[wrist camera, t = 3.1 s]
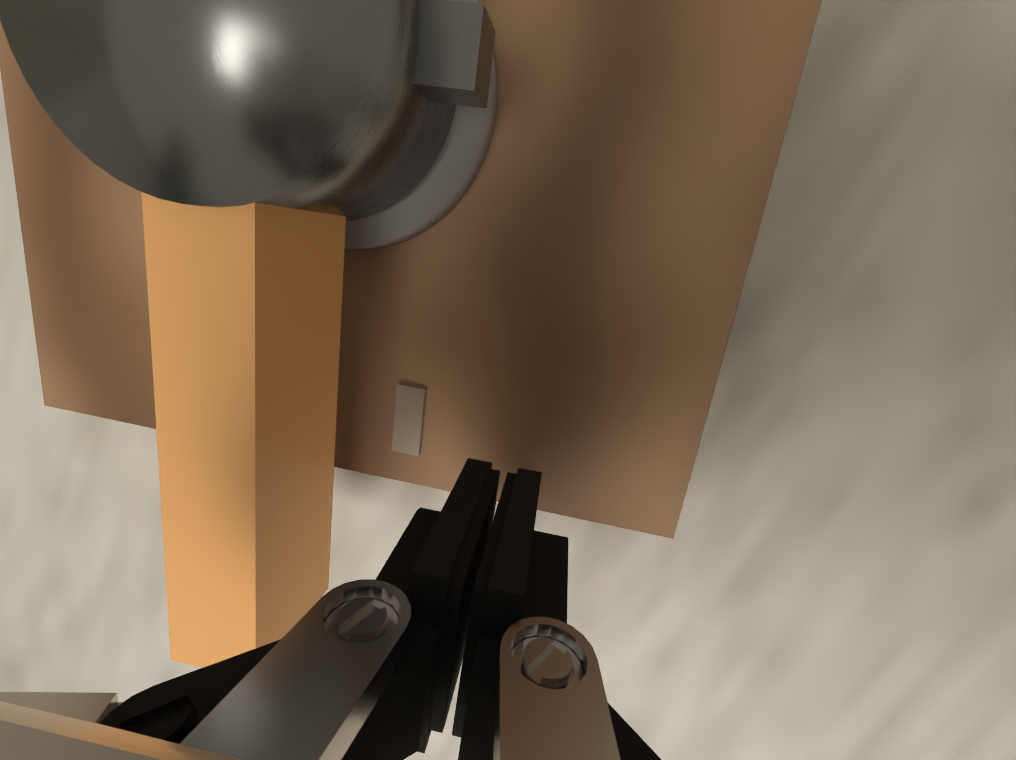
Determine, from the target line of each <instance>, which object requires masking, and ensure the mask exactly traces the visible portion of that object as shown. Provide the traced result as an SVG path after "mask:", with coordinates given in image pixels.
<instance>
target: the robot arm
mask: <svg viewBox="0 0 1016 760" xmlns="http://www.w3.org/2000/svg"><path fill="white" fill-rule="evenodd" d="M541 476H542V472H539V471H534V470H529V469H523V468H518V470H517V474H515V473H510V472H507V475H506V479H505V482H504V486H503V489H502V492H501V496H500V499H499V503H498V506H497V509H496V513H495V516H494V511H495V504H496V498H497V491H498V485H499V478H500V471H499V470H494V469H492V462H487V461H482V460H476V459H471V458H468V459H467V461H466V463H465V465H464V467H463V469H462V471H461V473H460V475H459V477H458V479H457V481H456V483H455V485H454V487H453V489H452V491H451V493H450V495H449V497H448V499H447V501H446V503H445V505H444V507H443V509H442V511H441V512H439V511H434V510H430V509H425V508H419V509H418V510H417V511H416V513H415V515H414V516H413V518H412V520H411V521H410V523H409V525H408V526H407V528H406V530H405V531H404V533H403V535H402V536H401V538H400V540H399V541H398V543H397V545H396V546H395V548H394V550H393V551H392V553H391V555H390V556H389V558H388V560H387V561H386V563H385V565H384V566H383V568H382V570H381V572H380V573H379V575H378V577H377V578H376V580H357V581H352V582H348V583H344V584H342V585H340V586H338V587H336V588H334V589H332V590H331V591H329V592H328V593H327V594H325V595H324V596H323V597H322V598H321V599H320V600H319V601H318V602H317V603H316V604H315V605H314V606H313V607H312V608H311V609H310V610H309V611H308V612H307V613H306V614H305V615H304V616H303V617H302V618H301V619H300V620H299V621H298V622H297V623H296V624H295V625H294V627H293V628H292V629H291V630H290V631H289V632H288V633H287V634H286V635H285V636H284V637H283V638H282V639H280V640H277V641H275V642H272V643H269V644H266V645H264V646H261V647H258V648H255V649H253V650H250V651H247V652H245V653H242V654H239V655H236V656H234V657H231V658H228V659H226V660H223V661H220V662H217V663H215V664H212V665H209V666H206V667H204V668H201V669H198V670H196V671H193V672H190V673H187V674H185V675H182V676H179V677H176V678H174V679H171V680H168V681H166V682H163V683H160V684H157V685H155V686H152V687H150V688H148V689H146V690H144V691H142V692H140V693H137V694H135V695H133V696H132V697H130V698H129V699H127V700H126V701H124V702H118V700H117V693H61V692H0V760H403V759H405V758H407V757H408V756H410V755H412V754H413V753H415V752H417V751H418V752H422V753H425V750H426V746H427V743H428V740H429V736H430V733H431V730H433V731H437V732H441V733H442V732H443V729H444V726H445V722H446V719H447V715H448V711H449V708H450V704H451V700H452V697H453V693H454V689H455V685H456V682H457V678H458V674H459V671H460V667H461V663H462V660H463V663H462V669H461V676H460V683H459V690H458V697H457V703H456V710H455V717H454V724H453V731H452V735H453V736H457V737H461V744H460V750H459V757H458V760H661V759H660V758H659V757H658V756H657V755H656V754H655V752H654V751H653V750H652V749H651V748H650V747H649V746H648V745H647V744H646V743H645V742H644V741H643V740H642V739H641V738H640V736H639V735H638V734H637V733H636V732H635V731H634V730H633V729H632V728H631V727H630V726H629V725H628V724H627V723H626V722H625V721H624V719H623V718H622V717H621V716H620V715H619V714H618V713H617V712H616V711H615V710H614V709H613V708H612V707H611V706H610V705H609V703H608V702H607V699H606V694H605V690H604V686H603V681H602V677H601V673H600V668H599V664H598V660H597V657H596V655H595V652H594V650H593V647H592V646H591V644H590V643H589V642H588V640H587V639H586V638H585V637H584V635H583V634H581V633H580V632H579V631H577V630H576V629H575V628H574V627H572V626H571V625H568V624H567V584H568V538H567V537H563V536H558V535H553V534H548V533H543V532H538V531H534V525H535V518H536V511H537V504H538V497H539V490H540V483H541ZM493 517H494V519H493Z"/></svg>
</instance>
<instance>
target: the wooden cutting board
mask: <svg viewBox="0 0 1016 760" xmlns="http://www.w3.org/2000/svg"><path fill="white" fill-rule="evenodd" d="M448 1H459V2H470V3H480V4H484V5H485V8H486V10H487V12H488V15H489V17H490V20H491V22H492V25H493V27H494V30H495V32H496V33H495V42H494V50H493V59H492V67H491V76H490V84H489V93H488V101H487V109H486V108H478V107H470V106H461V105H456V108H455V114H454V117H453V121H452V124H451V128H450V132H449V134H448V136H447V139H446V141H445V144H444V146H443V148H442V151H441V152H440V154H439V156H438V158H437V159H436V161H435V163H434V165H433V166H432V168H431V169H430V170H429V172H428V173H427V174H426V176H425V177H424V178H423V180H422V181H421V182H420V183H419V184H418V185H417V186H416V187H415V188H414V189H413V190H412V191H411V192H410V193H409V194H408V195H407V196H405V197H404V198H403V199H401V200H400V201H399V202H397V203H396V204H394V205H393V206H391V207H389V208H387V209H385V210H384V211H382V212H379V213H377V214H374V215H372V216H369V217H366V218H362V219H357V220H353V221H346V226H345V247H344V268H343V289H342V310H341V331H340V352H339V373H338V394H337V414H336V435H335V456H334V467H338V468H343V469H348V470H352V471H357V472H362V473H367V474H371V475H376V476H381V477H385V478H390V479H395V480H400V481H404V482H409V483H414V484H418V485H423V486H428V487H433V488H437V489H442V490H447V491H452V489H453V487H454V485H455V483H456V481H457V479H458V477H459V475H460V473H461V471H462V469H463V467H464V465H465V463H466V461H467V459H468V458H471V459H476V460H482V461H487V462H492V469H494V470H499V471H500V478H499V485H498V491H497V498H496V501H499V499H500V496H501V492H502V489H503V486H504V482H505V479H506V475H507V472H510V473H515V474H517V470H518V468H523V469H529V470H534V471H539V472H542V476H541V483H540V490H539V497H538V504H537V510H541V511H546V512H550V513H555V514H560V515H565V516H569V517H574V518H579V519H583V520H588V521H593V522H598V523H602V524H607V525H612V526H616V527H621V528H626V529H631V530H635V531H640V532H645V533H649V534H654V535H659V536H664V537H668V538H674V534H675V530H676V527H677V523H678V519H679V516H680V512H681V509H682V505H683V501H684V498H685V494H686V490H687V487H688V483H689V480H690V476H691V472H692V469H693V465H694V461H695V458H696V454H697V451H698V447H699V443H700V440H701V436H702V432H703V429H704V425H705V421H706V418H707V414H708V411H709V407H710V403H711V400H712V396H713V392H714V389H715V385H716V382H717V378H718V374H719V371H720V367H721V363H722V360H723V356H724V353H725V349H726V345H727V342H728V338H729V334H730V331H731V327H732V324H733V320H734V316H735V313H736V309H737V305H738V302H739V298H740V294H741V291H742V287H743V284H744V280H745V276H746V273H747V269H748V265H749V262H750V258H751V255H752V251H753V247H754V244H755V240H756V236H757V233H758V229H759V226H760V222H761V218H762V215H763V211H764V207H765V204H766V200H767V197H768V193H769V189H770V186H771V182H772V178H773V175H774V171H775V168H776V164H777V160H778V157H779V153H780V149H781V146H782V142H783V138H784V135H785V131H786V128H787V124H788V120H789V117H790V113H791V109H792V106H793V102H794V99H795V95H796V91H797V88H798V84H799V80H800V77H801V73H802V70H803V66H804V62H805V59H806V55H807V51H808V48H809V44H810V41H811V37H812V33H813V30H814V26H815V22H816V19H817V15H818V11H819V8H820V4H821V1H822V0H448ZM0 69H1V77H2V85H3V92H4V100H5V107H6V115H7V123H8V130H9V138H10V146H11V153H12V161H13V169H14V176H15V184H16V191H17V199H18V207H19V214H20V222H21V230H22V237H23V245H24V253H25V260H26V268H27V275H28V283H29V291H30V298H31V306H32V314H33V321H34V329H35V337H36V344H37V352H38V359H39V367H40V375H41V382H42V390H43V398H44V405H46V406H51V407H55V408H60V409H65V410H70V411H74V412H79V413H84V414H88V415H93V416H98V417H103V418H107V419H112V420H117V421H121V422H126V423H131V424H136V425H140V426H145V427H150V428H154V429H156V414H155V398H154V382H153V367H152V351H151V335H150V319H149V304H148V288H147V272H146V256H145V241H144V225H143V209H142V193H141V191H138V190H136V189H134V188H132V187H130V186H129V185H127V184H125V183H123V182H121V181H119V180H117V179H116V178H114V177H113V176H111V175H110V174H108V173H107V172H106V171H104V170H103V169H101V168H100V167H99V166H97V165H96V164H94V163H93V162H92V161H91V160H90V159H89V158H88V157H87V156H85V155H84V154H83V153H82V152H81V151H80V150H79V149H78V148H76V147H75V146H74V145H73V144H72V142H71V141H70V140H69V139H68V138H67V137H66V136H65V135H64V134H63V132H62V131H61V130H60V129H59V128H58V127H57V126H56V125H55V123H54V122H53V120H52V119H51V118H50V116H49V115H48V114H47V112H46V111H45V110H44V108H43V107H42V105H41V104H40V103H39V101H38V100H37V98H36V96H35V95H34V93H33V91H32V90H31V88H30V86H29V84H28V83H27V81H26V79H25V78H24V76H23V74H22V72H21V70H20V68H19V65H18V63H17V61H16V59H15V57H14V55H13V53H12V51H11V49H10V46H9V43H8V41H7V38H6V35H5V32H4V30H3V27H2V24H1V22H0Z"/></svg>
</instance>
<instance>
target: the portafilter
mask: <svg viewBox="0 0 1016 760" xmlns="http://www.w3.org/2000/svg"><path fill="white" fill-rule="evenodd" d="M0 22H1V24H2V27H3V30H4V32H5V35H6V38H7V41H8V43H9V46H10V49H11V51H12V53H13V55H14V57H15V59H16V61H17V63H18V65H19V68H20V70H21V72H22V74H23V76H24V78H25V79H26V81H27V83H28V84H29V86H30V88H31V90H32V91H33V93H34V95H35V96H36V98H37V100H38V101H39V103H40V104H41V105H42V107H43V108H44V110H45V111H46V112H47V114H48V115H49V116H50V118H51V119H52V120H53V122H54V123H55V125H56V126H57V127H58V128H59V129H60V130H61V131H62V132H63V134H64V135H65V136H66V137H67V138H68V139H69V140H70V141H71V142H72V144H73V145H74V146H75V147H76V148H78V149H79V150H80V151H81V152H82V153H83V154H84V155H85V156H87V157H88V158H89V159H90V160H91V161H92V162H93V163H94V164H96V165H97V166H99V167H100V168H101V169H103V170H104V171H106V172H107V173H108V174H110V175H111V176H113V177H114V178H116V179H117V180H119V181H121V182H123V183H125V184H127V185H129V186H130V187H132V188H134V189H136V190H138V191H141V193H142V209H143V225H144V241H145V256H146V272H147V288H148V304H149V319H150V335H151V351H152V367H153V382H154V398H155V414H156V430H157V445H158V461H159V477H160V493H161V508H162V524H163V540H164V556H165V571H166V587H167V603H168V619H169V635H170V650H171V659H172V660H176V661H179V662H183V663H187V664H190V665H194V666H198V667H201V668H204V667H206V666H209V665H212V664H215V663H217V662H220V661H223V660H226V659H228V658H231V657H234V656H236V655H239V654H242V653H245V652H247V651H250V650H253V649H255V648H258V647H261V646H264V645H266V644H269V643H272V642H275V641H277V640H280V639H282V638H283V637H284V636H285V635H286V634H287V633H288V632H289V631H290V630H291V629H292V628H293V627H294V625H295V624H296V623H297V622H298V621H299V620H300V619H301V618H302V617H303V616H304V615H305V614H306V613H307V612H308V611H309V610H310V609H311V608H312V607H313V606H314V605H315V604H316V603H317V602H318V601H319V599H320V598H321V597H322V595H323V594H324V593H325V592H326V590H327V589H328V582H329V561H330V540H331V519H332V498H333V477H334V456H335V435H336V414H337V394H338V373H339V352H340V331H341V310H342V289H343V268H344V247H345V226H346V221H353V220H357V219H362V218H366V217H369V216H372V215H374V214H377V213H379V212H382V211H384V210H385V209H387V208H389V207H391V206H393V205H394V204H396V203H397V202H399V201H400V200H401V199H403V198H404V197H405V196H407V195H408V194H409V193H410V192H411V191H412V190H413V189H414V188H415V187H416V186H417V185H418V184H419V183H420V182H421V181H422V180H423V178H424V177H425V176H426V174H427V173H428V172H429V170H430V169H431V168H432V166H433V165H434V163H435V161H436V159H437V158H438V156H439V154H440V152H441V151H442V148H443V146H444V144H445V141H446V139H447V136H448V134H449V132H450V128H451V124H452V121H453V117H454V114H455V108H456V105H461V106H470V107H478V108H486V109H487V101H488V93H489V84H490V76H491V67H492V59H493V50H494V42H495V33H496V32H495V30H494V27H493V25H492V22H491V20H490V17H489V15H488V12H487V10H486V8H485V5H484V4H480V3H470V2H459V1H448V0H0Z"/></svg>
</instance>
